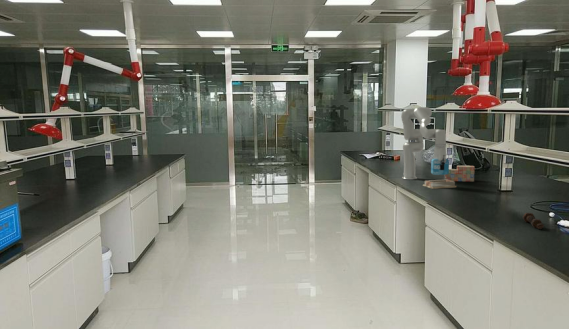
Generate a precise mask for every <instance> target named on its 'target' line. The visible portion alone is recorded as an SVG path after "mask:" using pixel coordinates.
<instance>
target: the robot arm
mask: <svg viewBox="0 0 570 329" xmlns="http://www.w3.org/2000/svg"><path fill="white" fill-rule="evenodd" d="M432 114H433V112H432V109H431V108H430V107H423V106H422V107H416V108H414V107H413V108H412V107H411V108H405V109H403V110H402V112H401V114H400V115H401V122H402V126H403V137H404V138H403V139H404V140H405V141H407V142H404V144H403V145H402V152H403V176H401V178H402V179H403V180H417V179H418V177H417V176H416V156H415V154H418V153H421V152H423V151H424V147H425V146H424V139H426V140H434V150H433V159H438V161H440V163H441V165H440V170H444V165H445V162H446V159H447V149H446V148H447V146H446V144H447V142H446V141H447V131H446V129H440V128H431V129H430V128H429V129H428V128H427V126H428V125H430V124H431V121H432V119H431V118H430V117H431V116H432ZM411 119H416V120H417V121H418V123H419V124H420V125H419V128H414V127H415V125H414V122H413V120H411ZM441 160H443V161H441Z"/></svg>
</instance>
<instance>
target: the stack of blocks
mask: <svg viewBox="0 0 570 329" xmlns="http://www.w3.org/2000/svg"><path fill="white" fill-rule="evenodd" d="M444 176H445V177H444V180H445V179H447V180H451V181H454V182H475V166H474V165H456V169H455V168H449V173H448V174H447V175H444Z"/></svg>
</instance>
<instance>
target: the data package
mask: <svg viewBox="0 0 570 329" xmlns="http://www.w3.org/2000/svg"><path fill="white" fill-rule="evenodd" d="M430 161H431V162H430V165H431V166H430V173H431V175H434V176H437V175H439V176H440V175H441V176H443V175H444V176H445V175H447V174H448V173H449V169H450V166H449V165H450V160H449V159H448V158H446V162H445V165H444V170H440V165H441V163H440V161H438V159H434V158H432V159H431V160H430ZM441 161H443V160H441Z"/></svg>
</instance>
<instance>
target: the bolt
mask: <svg viewBox="0 0 570 329" xmlns="http://www.w3.org/2000/svg"><path fill="white" fill-rule="evenodd" d="M522 219H523V221H524V222H525V223H530V224H531V226H532V227H533V228H534V229H538V230H542V229H543V228H544V227H545V226H544V224H543V222H542V220H541V219H539V218H536V217H535V215H534V213H533V212H525V213H524V215H522Z"/></svg>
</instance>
